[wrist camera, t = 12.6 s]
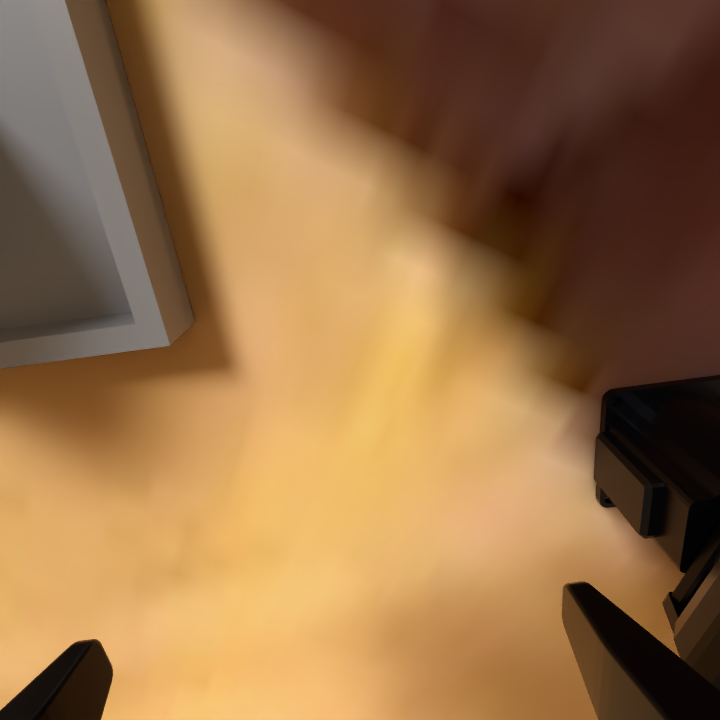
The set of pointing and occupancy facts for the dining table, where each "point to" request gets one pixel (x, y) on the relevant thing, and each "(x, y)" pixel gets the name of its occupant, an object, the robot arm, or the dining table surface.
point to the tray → (77, 195)
